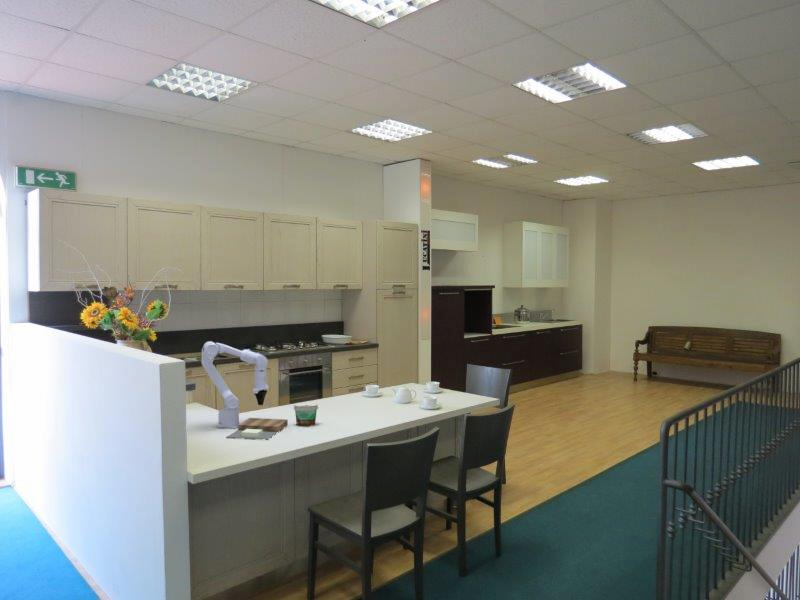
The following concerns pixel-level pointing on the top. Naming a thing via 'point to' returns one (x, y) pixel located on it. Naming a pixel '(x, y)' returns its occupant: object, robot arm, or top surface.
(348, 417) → the top surface
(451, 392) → the top surface
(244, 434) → the tile
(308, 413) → the food container
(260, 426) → the board
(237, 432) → the mat
